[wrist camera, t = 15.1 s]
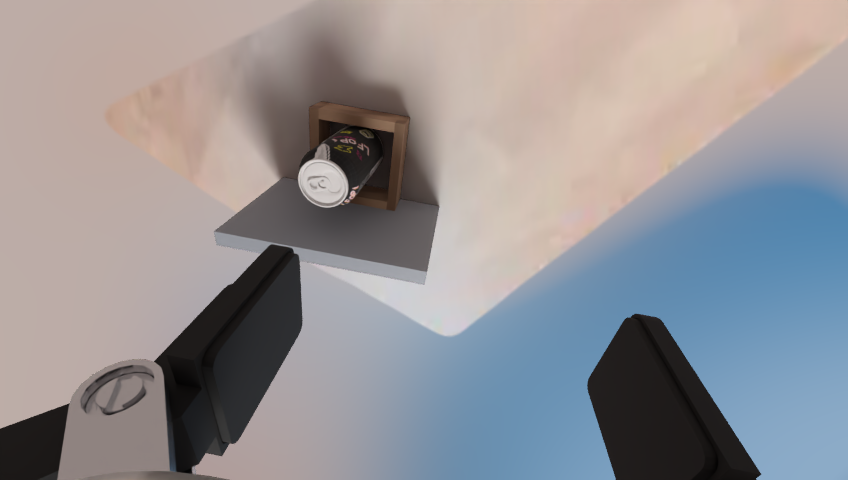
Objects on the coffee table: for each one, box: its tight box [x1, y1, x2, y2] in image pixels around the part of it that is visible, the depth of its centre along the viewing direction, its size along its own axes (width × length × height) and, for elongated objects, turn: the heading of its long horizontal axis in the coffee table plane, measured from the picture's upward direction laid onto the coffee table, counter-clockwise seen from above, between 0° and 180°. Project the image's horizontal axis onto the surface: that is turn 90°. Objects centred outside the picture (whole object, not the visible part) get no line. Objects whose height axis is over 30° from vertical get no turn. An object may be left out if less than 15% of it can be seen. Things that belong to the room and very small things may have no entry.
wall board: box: [214, 177, 439, 285], centre depth 39 cm, size 20×2×14 cm, turn 82°
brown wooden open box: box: [309, 101, 410, 211], centre depth 40 cm, size 10×10×4 cm
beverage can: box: [298, 125, 383, 207], centre depth 36 cm, size 6×6×12 cm
